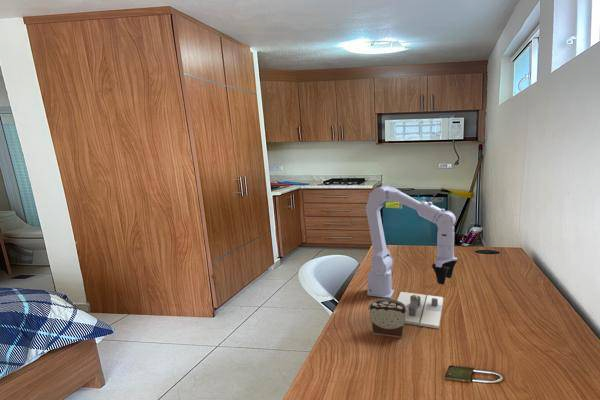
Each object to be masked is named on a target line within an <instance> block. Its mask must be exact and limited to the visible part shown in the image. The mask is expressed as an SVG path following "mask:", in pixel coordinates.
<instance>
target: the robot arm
mask: <svg viewBox="0 0 600 400" xmlns="http://www.w3.org/2000/svg"><path fill="white" fill-rule="evenodd" d="M395 202H396V203H397V202H398V203H400V204H402V205H404V206H406V207H409V208H411V209H413V210H415V211H416V212H417V214H418V216H419V217H422V218H423V219H424V220H427V221H429V222H431V223H433V224H436V226H437V234H436V235H437V236H436V237H437V238H436V239H437V240H436V243H437V244H436V256H435V257H436V259H435V262H434V263H433V264H431V267H432V269H433V271H434V274H435V278H436V281H437V284H439V285H442V286H443V285H445V283H446V278H447V279H452V276H453V273H454V268H455V266H456V265H457V262H458V257H455V223H456V222H457V217H456V216H455V214H454V213H453V212H452V211H451V210H445V208H440V207H438V206H436V205H434V204H433V202H431V201H428V202H427V201H423V202H420V201H419V200H417V199H415V198H413V197H411V196H409V195H408V194H406V193H405V192H403V191H401V190H399V189H397V188H396V187H392V186H390V185H388V184H387V185H382V186H378V187H375V188H373V189H372V190H371V191H370V193H369V194H368V200H367V202H366V206H365V213H366V217H367V223H368V229H369V234H370V240H371V245H372V254H371V264H370V269H371V270H369V271H368V274H367V279H366V280H367V281H366V282H367V285H366V286H367V293H366V296H369V297H377V298H383V299H391V298H392V296H393V294H394V292H395V290H394V289H392V282H393V281H392V279H393V278H392V274H393V273H392V270H391V269H392V267H393V265H394V258H393V257H392V256H391V252H390V250H389V249H388V247H387V242H386V237H385V232H384V231H385V230H384V227H383V223H382V222H383V221H382V216H381V209H382V208H383V207H384V205H385V204H386V203H395Z"/></svg>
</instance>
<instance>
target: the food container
mask: <svg viewBox="0 0 600 400" xmlns="http://www.w3.org/2000/svg"><path fill="white" fill-rule="evenodd" d="M367 311H369V315H370V321H371V322H370V323H371V330H372V331H371V333H372V334H374V335H378V336H388V337H393V338H401V339H403V337H404V329H405V323H404V322H405V314H406V312H407V309H406V306H405V305H404V304H403V303H402V302H400V301H397V299H391V298H380V299H379V298H377V299H375V300H374V299H373V300H372V301H370V303H369V304H368V307H367ZM407 314H408V313H407Z"/></svg>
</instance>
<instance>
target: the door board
mask: <svg viewBox="0 0 600 400" xmlns="http://www.w3.org/2000/svg"><path fill="white" fill-rule="evenodd" d="M412 295H417V296H420V297H421V305H420V306H418V308H417V312H416V315H409V306H410V296H412ZM396 300H397V301H400V302H402V303H403V304H404V305H405V306H406V309H407V312H406V314H405V322H404V324H407V325H413V326H419V327H420V326H421V327H427V328H432V329H438V330H439V329H440V323H441V316H442V310H443V303H444V296H437V295H429V294H421V293H414V292H413V293H412V292H406V291H400V293H399V295H398V297H397V299H396ZM407 313H408V314H407Z"/></svg>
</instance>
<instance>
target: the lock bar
mask: <svg viewBox="0 0 600 400" xmlns="http://www.w3.org/2000/svg"><path fill="white" fill-rule="evenodd" d="M420 305H421V297H420V296H417V295H412V296H410V306H409V315H416V312H417V308H418V306H420Z"/></svg>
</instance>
